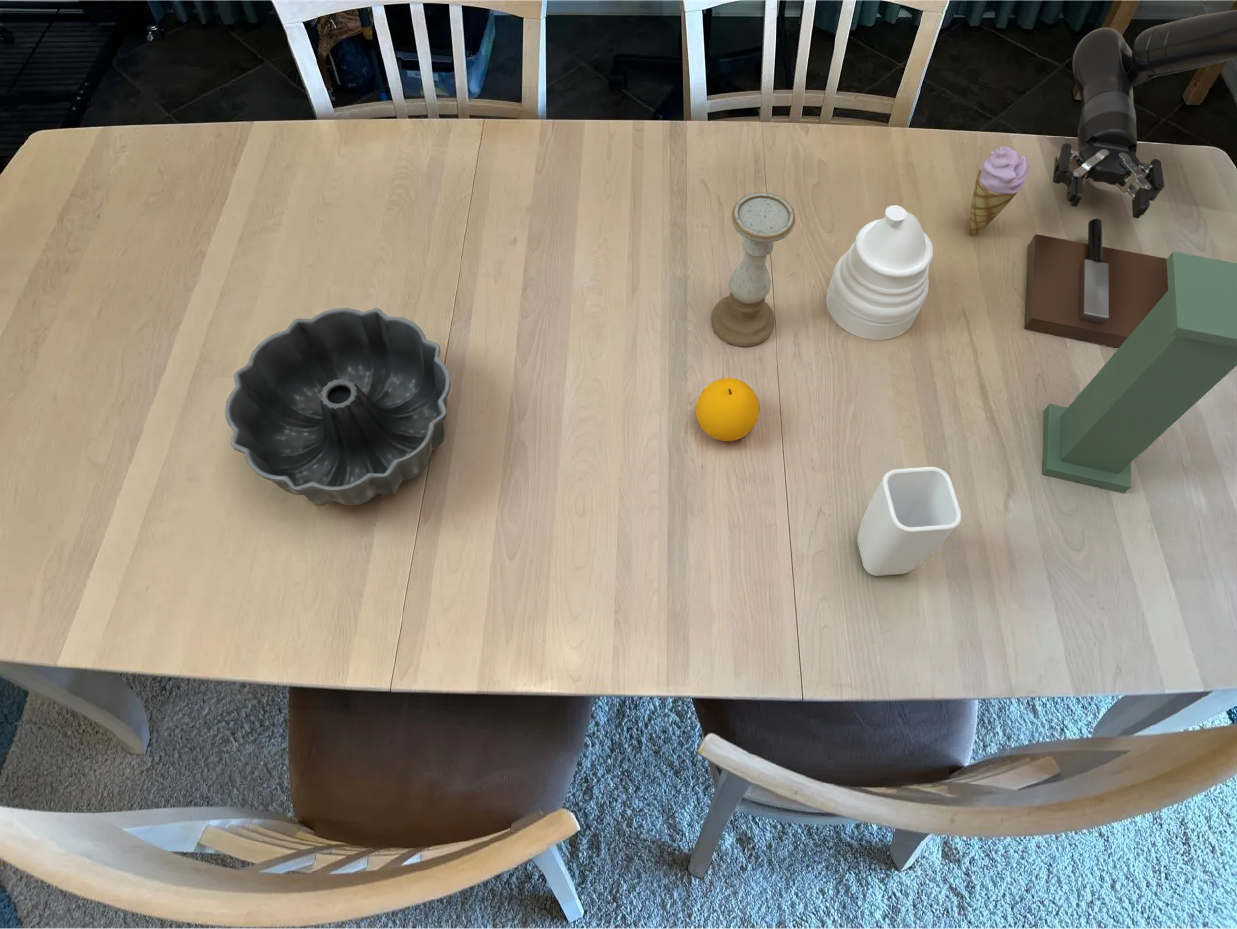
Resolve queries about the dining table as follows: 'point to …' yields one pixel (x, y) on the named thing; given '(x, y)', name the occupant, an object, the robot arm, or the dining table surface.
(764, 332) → the candle holder
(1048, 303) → the cutting board
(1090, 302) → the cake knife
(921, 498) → the cup
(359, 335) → the bundt pan
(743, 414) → the orange
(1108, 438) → the stand
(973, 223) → the ice cream cone
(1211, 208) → the dining table surface
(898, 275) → the honey pot
